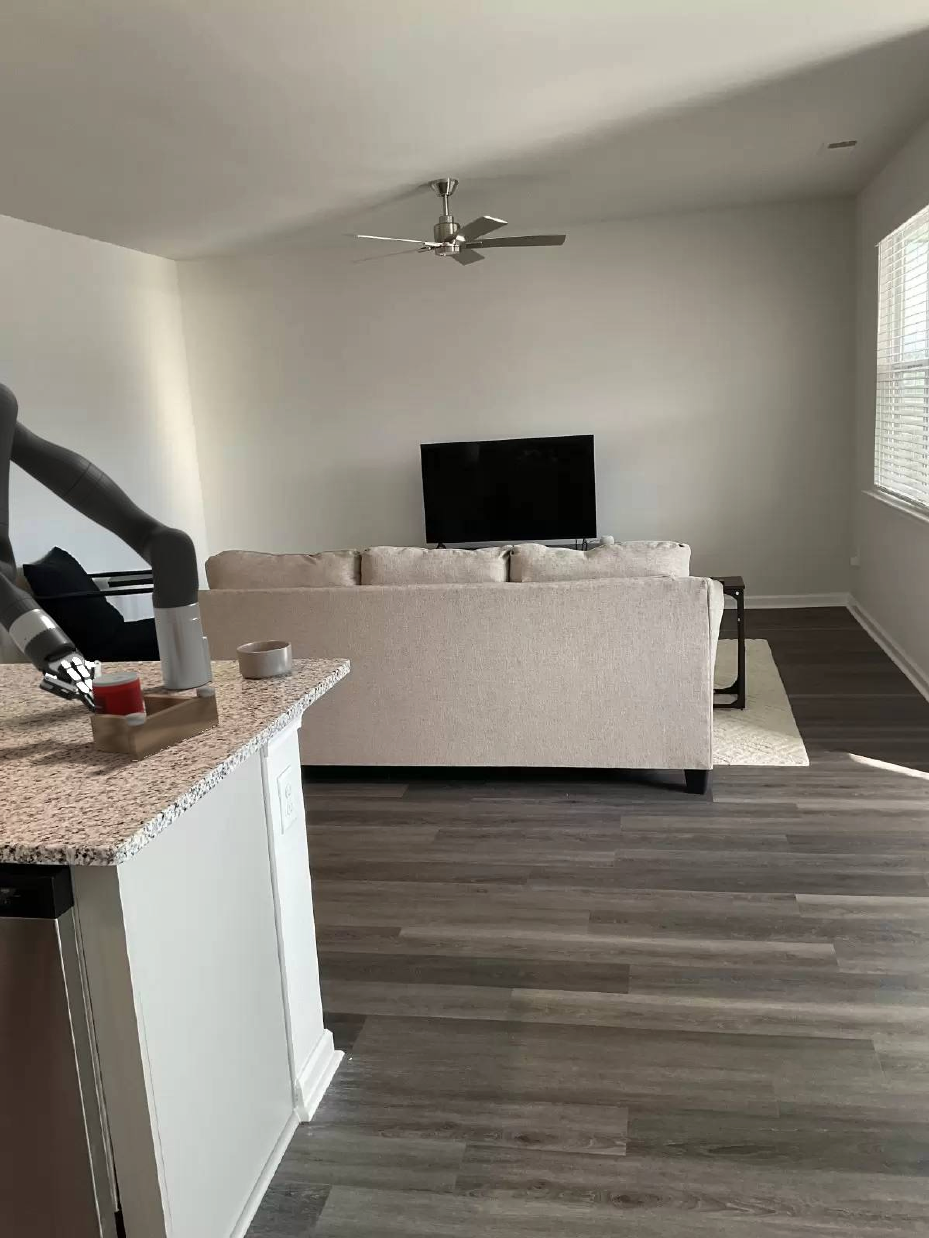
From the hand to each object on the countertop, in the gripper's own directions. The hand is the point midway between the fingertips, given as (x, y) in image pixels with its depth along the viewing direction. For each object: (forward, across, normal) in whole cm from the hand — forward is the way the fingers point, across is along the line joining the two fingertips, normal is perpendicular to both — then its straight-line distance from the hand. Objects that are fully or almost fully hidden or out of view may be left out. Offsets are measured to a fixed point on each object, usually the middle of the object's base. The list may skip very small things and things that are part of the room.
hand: (101, 710), depth 174 cm
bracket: (+11, 0, -4) cm, 12 cm away
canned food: (+7, 0, 0) cm, 7 cm away
